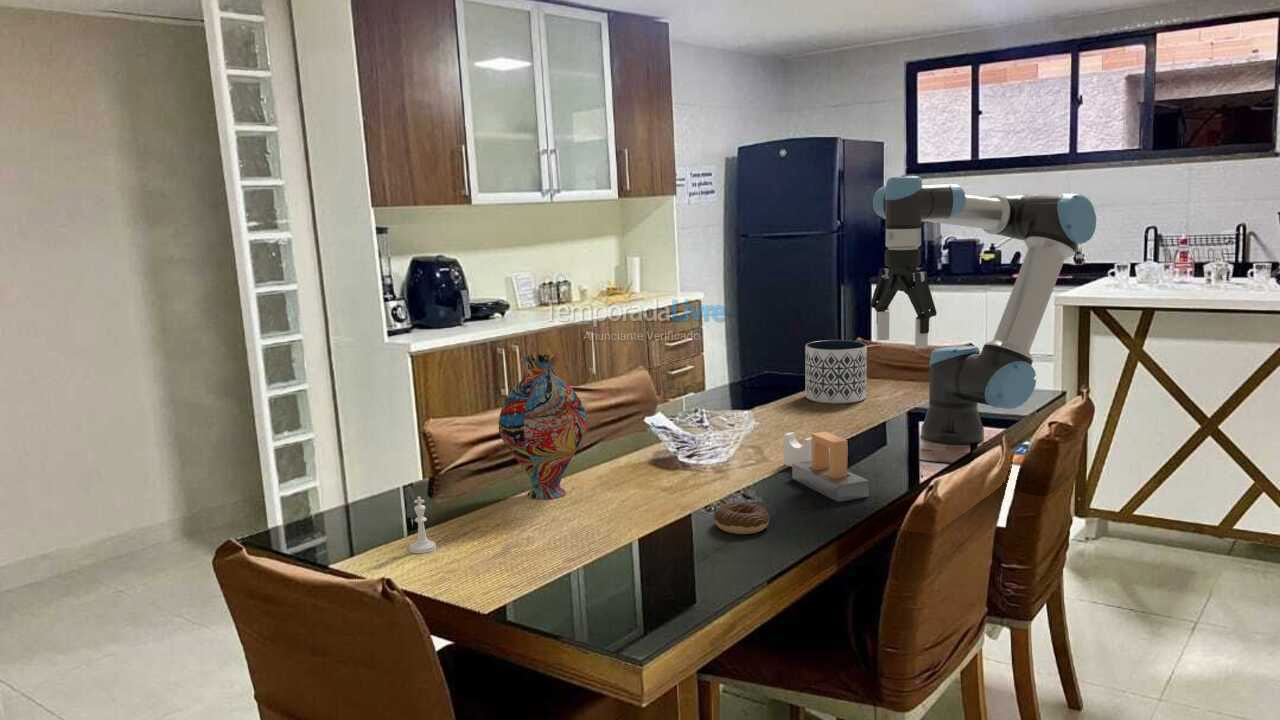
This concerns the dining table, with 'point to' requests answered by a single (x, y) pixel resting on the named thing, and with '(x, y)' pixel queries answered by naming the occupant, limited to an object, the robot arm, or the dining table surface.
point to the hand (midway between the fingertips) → (901, 344)
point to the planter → (835, 371)
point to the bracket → (796, 450)
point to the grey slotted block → (830, 482)
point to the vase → (543, 425)
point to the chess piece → (421, 532)
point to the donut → (741, 518)
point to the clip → (829, 454)
